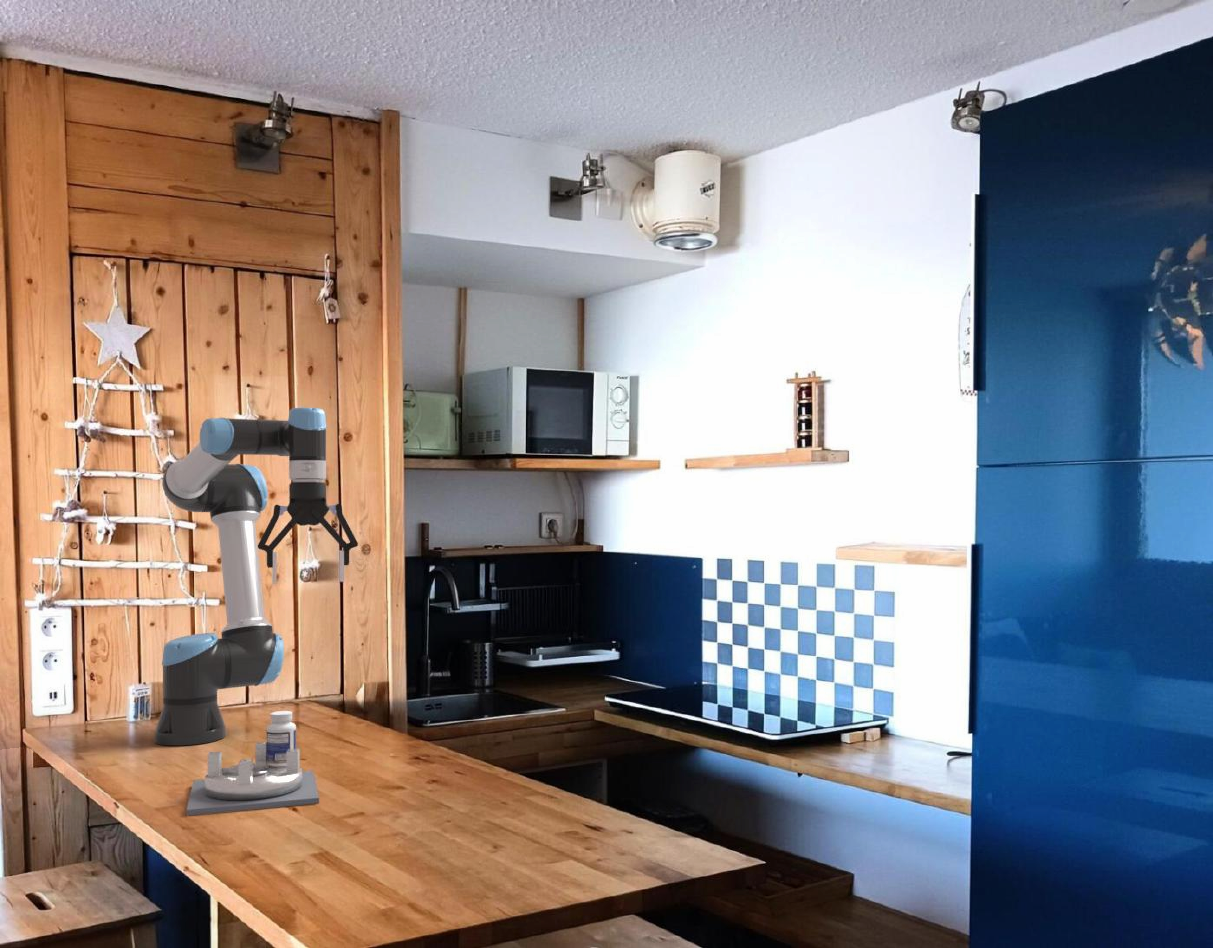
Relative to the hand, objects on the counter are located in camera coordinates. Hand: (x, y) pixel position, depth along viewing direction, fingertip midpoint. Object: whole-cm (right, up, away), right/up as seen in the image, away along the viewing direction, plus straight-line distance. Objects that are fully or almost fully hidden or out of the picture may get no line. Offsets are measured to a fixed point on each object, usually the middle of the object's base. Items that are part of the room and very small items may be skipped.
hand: (308, 582), depth 231 cm
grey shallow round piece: (-2, -35, -29) cm, 45 cm away
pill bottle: (+1, -33, -22) cm, 39 cm away
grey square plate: (-2, -36, -29) cm, 46 cm away
